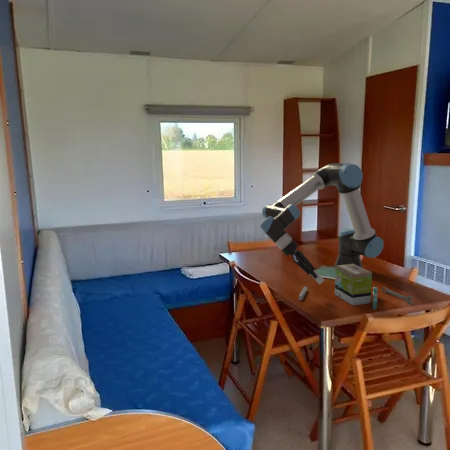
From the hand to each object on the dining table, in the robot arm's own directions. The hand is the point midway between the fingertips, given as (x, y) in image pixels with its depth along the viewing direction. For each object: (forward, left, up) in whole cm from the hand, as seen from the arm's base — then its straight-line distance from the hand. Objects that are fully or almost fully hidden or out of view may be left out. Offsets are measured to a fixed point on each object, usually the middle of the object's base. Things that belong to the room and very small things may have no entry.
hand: (321, 282), depth 194 cm
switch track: (0, +8, -7) cm, 11 cm away
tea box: (-2, +14, -8) cm, 16 cm away
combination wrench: (-10, +33, -8) cm, 35 cm away
